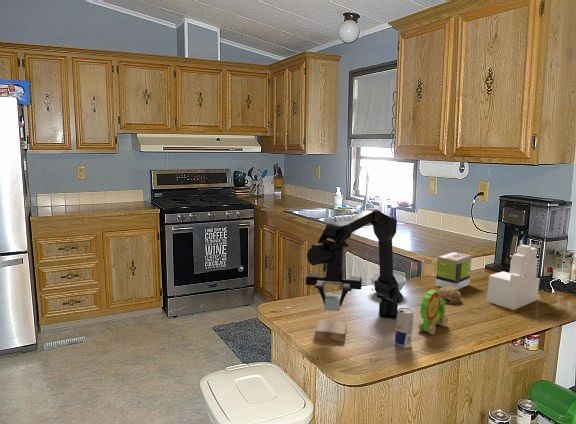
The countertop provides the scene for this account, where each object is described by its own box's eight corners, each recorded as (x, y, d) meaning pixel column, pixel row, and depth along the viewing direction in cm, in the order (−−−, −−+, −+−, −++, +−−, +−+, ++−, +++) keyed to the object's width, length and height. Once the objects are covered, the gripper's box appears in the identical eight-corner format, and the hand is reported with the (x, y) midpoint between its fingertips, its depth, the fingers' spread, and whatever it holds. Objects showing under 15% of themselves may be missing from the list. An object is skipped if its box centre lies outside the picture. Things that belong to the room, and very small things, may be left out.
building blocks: (513, 310, 187) (520, 250, 183) (486, 301, 196) (492, 245, 192) (537, 300, 200) (543, 244, 196) (510, 292, 209) (516, 239, 205)
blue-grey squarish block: (340, 306, 158) (341, 294, 157) (339, 311, 153) (339, 299, 152) (326, 304, 159) (326, 293, 158) (324, 309, 154) (325, 298, 153)
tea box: (450, 280, 226) (453, 251, 223) (470, 285, 218) (472, 255, 216) (434, 286, 215) (437, 255, 213) (454, 291, 208) (457, 260, 206)
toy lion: (434, 321, 172) (437, 282, 170) (448, 325, 168) (451, 286, 166) (414, 333, 161) (417, 292, 158) (428, 338, 157) (432, 296, 154)
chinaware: (392, 287, 211) (393, 271, 210) (411, 298, 197) (412, 281, 196) (363, 290, 205) (364, 274, 204) (381, 301, 192) (382, 284, 190)
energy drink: (392, 341, 153) (394, 307, 151) (407, 341, 154) (410, 307, 152) (397, 348, 148) (400, 313, 146) (413, 348, 149) (416, 313, 147)
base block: (346, 330, 161) (347, 322, 161) (344, 342, 151) (345, 333, 151) (318, 327, 163) (318, 319, 163) (314, 339, 153) (315, 330, 153)
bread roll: (435, 308, 196) (435, 294, 192) (437, 292, 204) (438, 278, 200) (459, 312, 193) (460, 298, 188) (461, 295, 200) (462, 282, 196)
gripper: (363, 257, 159) (361, 299, 162) (310, 253, 163) (309, 294, 165) (362, 265, 148) (359, 311, 151) (306, 261, 152) (304, 305, 154)
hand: (332, 305), depth 156 cm, fingers closed on blue-grey squarish block, 5 cm apart
